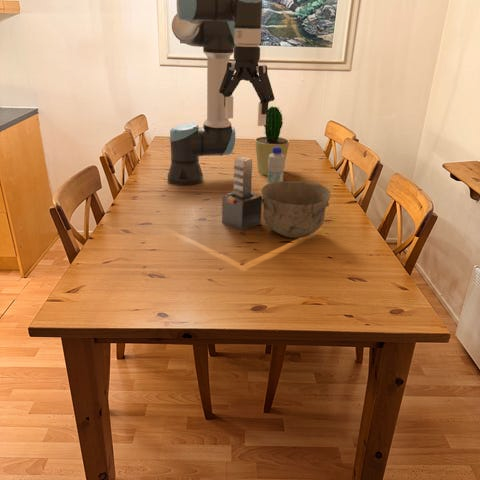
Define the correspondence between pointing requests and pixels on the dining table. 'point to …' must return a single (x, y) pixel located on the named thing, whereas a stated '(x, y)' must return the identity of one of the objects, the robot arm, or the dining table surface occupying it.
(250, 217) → the stand base
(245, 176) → the column
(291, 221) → the bowl
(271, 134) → the potted cactus
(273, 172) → the bottle
